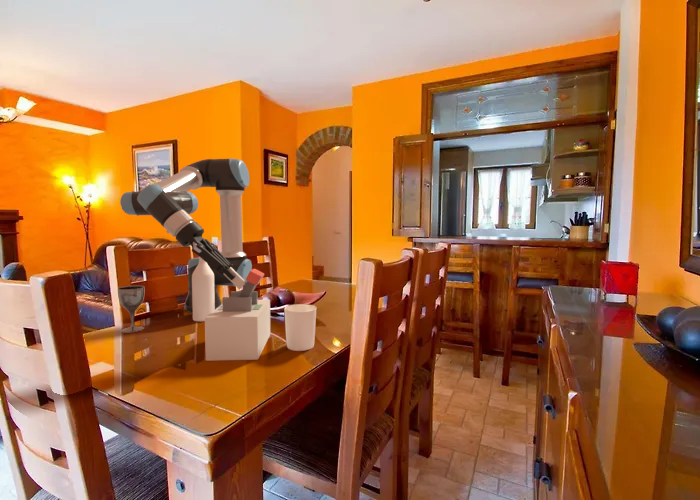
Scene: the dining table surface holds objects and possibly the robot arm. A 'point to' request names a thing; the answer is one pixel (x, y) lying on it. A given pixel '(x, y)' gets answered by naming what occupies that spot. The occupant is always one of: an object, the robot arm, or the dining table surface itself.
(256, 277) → the toggle
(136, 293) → the wine glass
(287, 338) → the candle holder
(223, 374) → the dining table surface
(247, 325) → the box
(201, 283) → the bottle
